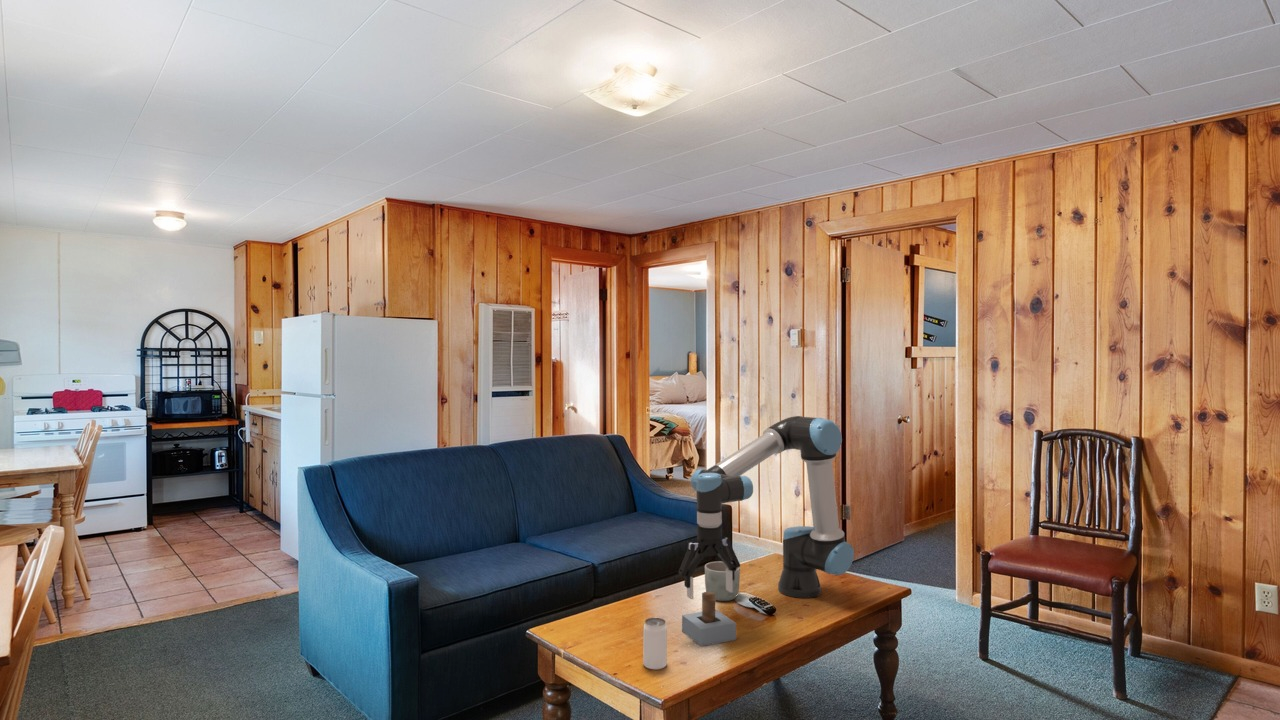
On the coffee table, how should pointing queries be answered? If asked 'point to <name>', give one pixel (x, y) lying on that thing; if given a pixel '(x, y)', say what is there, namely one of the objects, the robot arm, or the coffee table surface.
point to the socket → (708, 628)
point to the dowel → (708, 607)
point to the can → (655, 644)
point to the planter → (720, 581)
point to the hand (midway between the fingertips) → (709, 594)
